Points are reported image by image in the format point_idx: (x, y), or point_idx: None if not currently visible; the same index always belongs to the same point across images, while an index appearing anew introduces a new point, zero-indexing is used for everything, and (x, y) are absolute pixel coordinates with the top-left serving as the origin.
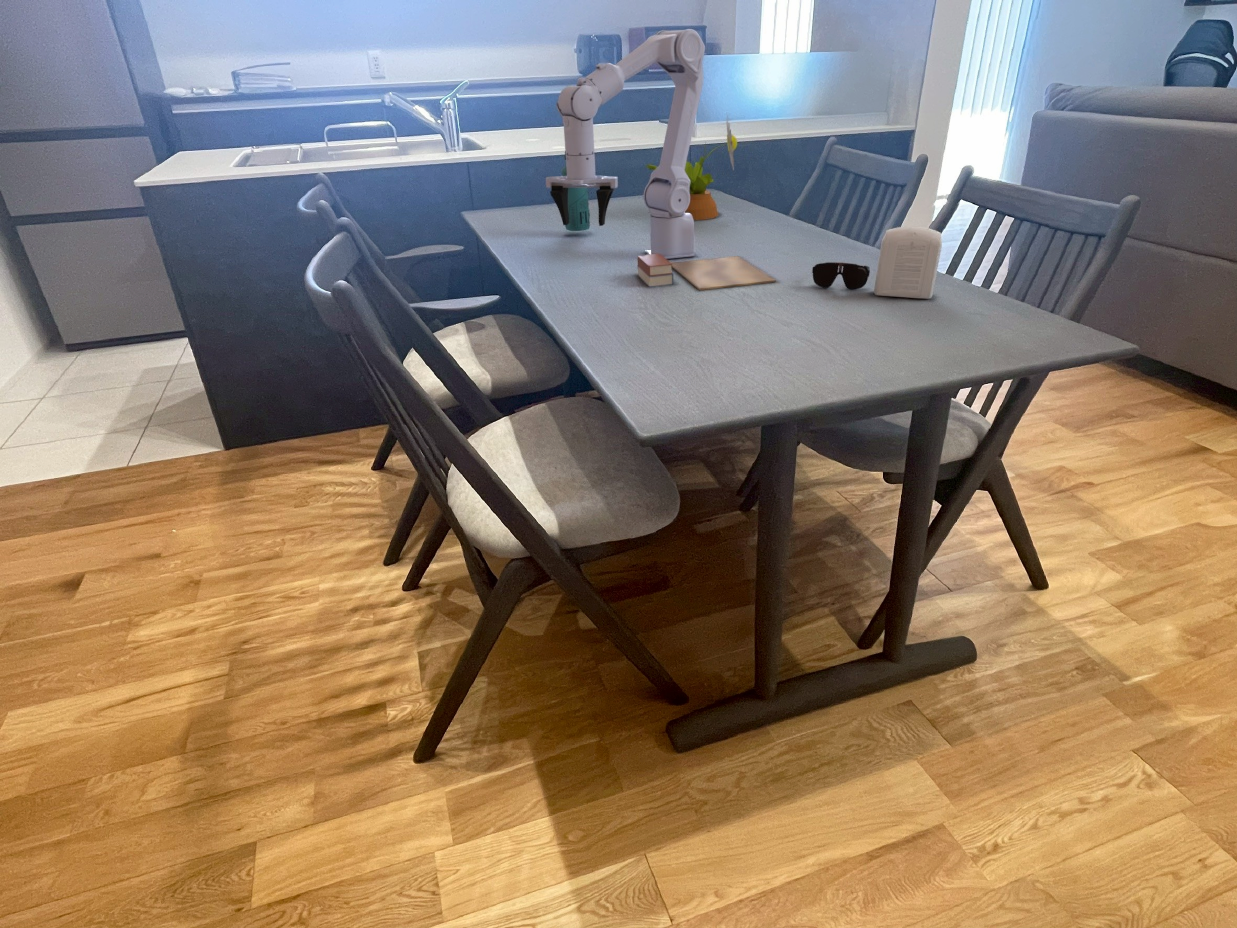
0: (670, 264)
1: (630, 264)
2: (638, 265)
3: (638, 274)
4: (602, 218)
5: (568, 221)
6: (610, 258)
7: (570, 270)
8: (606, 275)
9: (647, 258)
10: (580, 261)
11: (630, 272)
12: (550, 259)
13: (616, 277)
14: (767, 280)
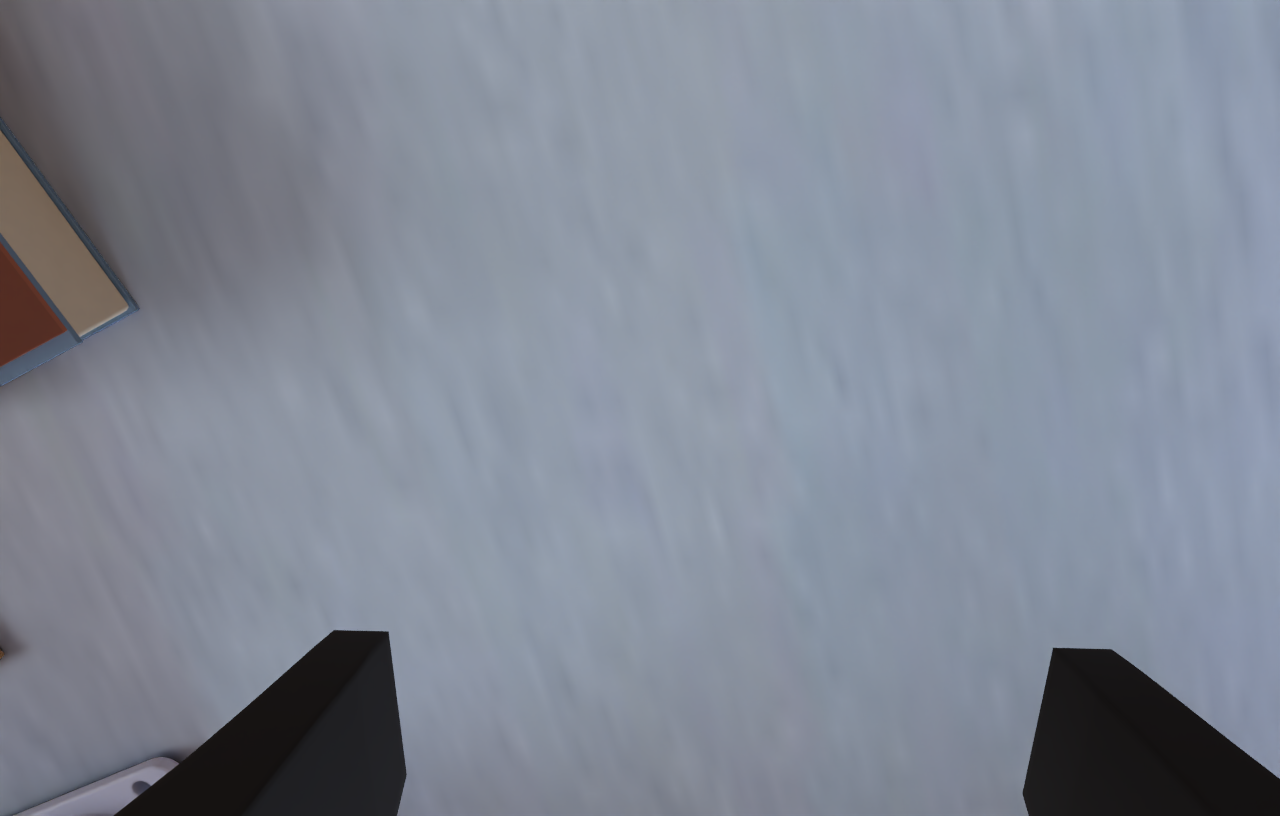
0: None
1: None
2: (36, 300)
3: (108, 288)
4: (247, 707)
5: (1040, 799)
6: (587, 799)
7: (882, 421)
8: (453, 278)
9: None
10: (842, 706)
11: (249, 403)
12: None
13: (323, 215)
14: None
